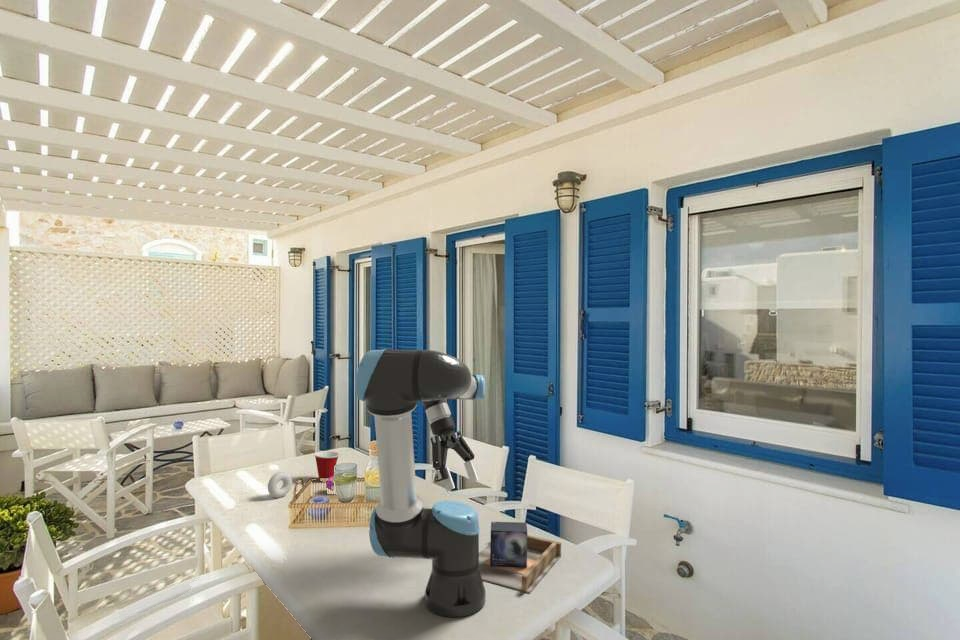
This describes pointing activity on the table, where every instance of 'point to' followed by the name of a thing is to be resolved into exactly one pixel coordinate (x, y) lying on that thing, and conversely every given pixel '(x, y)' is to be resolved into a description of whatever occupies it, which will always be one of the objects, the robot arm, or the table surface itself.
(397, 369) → the robot arm
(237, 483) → the table surface
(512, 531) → the small box
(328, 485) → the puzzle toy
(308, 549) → the table surface
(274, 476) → the donut
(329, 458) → the plastic cup
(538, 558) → the wooden tray
